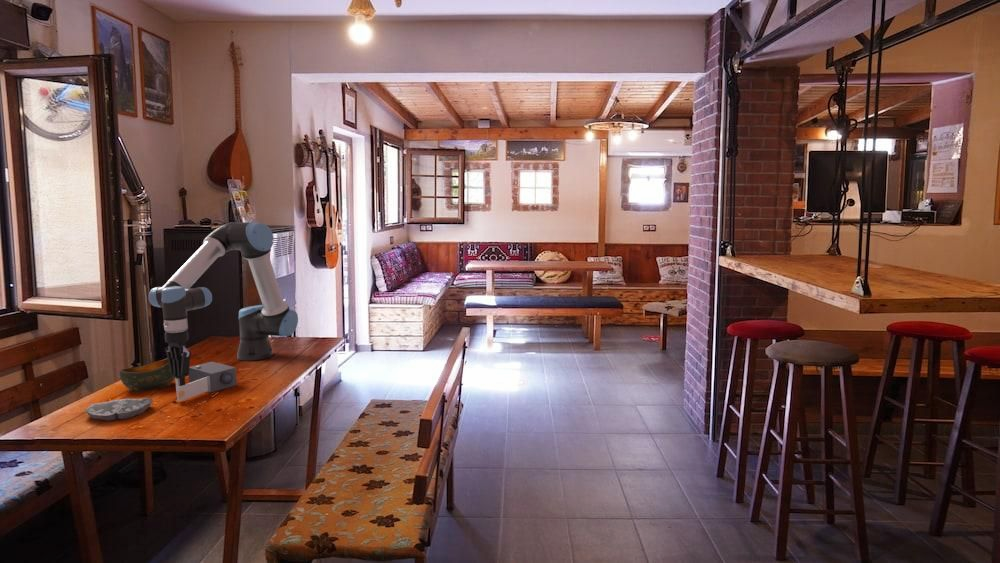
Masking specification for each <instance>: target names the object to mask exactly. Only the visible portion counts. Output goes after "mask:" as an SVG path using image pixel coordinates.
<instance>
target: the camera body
mask: <svg viewBox="0 0 1000 563" xmlns="http://www.w3.org/2000/svg"><path fill="white" fill-rule="evenodd" d="M207 376H210V386H211V392H212V393H215V392H217V391H221V390H224V389H228V388H231V387H235V386H238V381H237V380H238V379H237V368H236V367H235V366H231V365H227V364H224V363H218V362H215V361H209V362H204V363H201V364H197V365H192V366H189V375H188V383H190V382H193V381H196V380H199V379H202V378H205V377H207ZM211 392H210V393H211Z"/></svg>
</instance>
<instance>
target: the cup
mask: <svg viewBox="0 0 1000 563" xmlns="http://www.w3.org/2000/svg"><path fill="white" fill-rule="evenodd" d="M119 377H120V382H121V383H122V384H123V385H124V387H126V388H127V389H128V390H129V391H130V392H145V391H151V390H152V391H153V390H160V389H163V388H168V387H171V386H172V385H173V382H175V381H174V380H175V377H174V375H171V372H170V368H169V363H168V358H167V357H166V358H164V359H161V360H158V361H155V362H151V363H149V364H146V365H140V366H134V367H128V368H122V369H120V370H119Z"/></svg>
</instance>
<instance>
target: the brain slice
mask: <svg viewBox="0 0 1000 563" xmlns="http://www.w3.org/2000/svg"><path fill="white" fill-rule="evenodd" d="M153 401H154V400H153V398H152V397H151V398H150V397H146V398H145V397H144V398H123V399H115V400H109V401H103V402H98V403H93V404H91V405H89V406H88V407H87V408H86V409H85V410H84V412H85V413H87V415H88V416H89V417H90V418H92V419H93V420H99V419H101V421H116V420H126V419H131V418H133V417H136V416H139V415H141V414H143V413H145V412H146V410H147V409H149V407H150V406H151V404H152V403H153Z"/></svg>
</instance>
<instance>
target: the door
mask: <svg viewBox="0 0 1000 563" xmlns="http://www.w3.org/2000/svg"><path fill="white" fill-rule="evenodd" d="M175 390H177V394H176V400H177V402H183V401H186V400H188V399H190V398H194V397H196V396H199V395H201V394H204V393H206V392H207V393H211V386H210V376H207V377H205V378H202V379H199V380H196V381H193V382H190V383H189V382H188V383H187V382H186V383H185V385H182V386H179V387H176V386H175Z"/></svg>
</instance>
